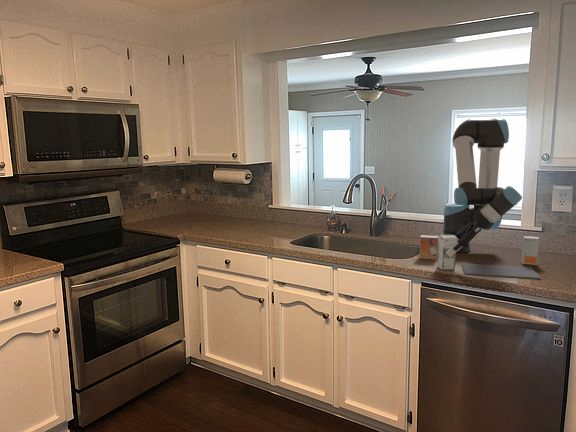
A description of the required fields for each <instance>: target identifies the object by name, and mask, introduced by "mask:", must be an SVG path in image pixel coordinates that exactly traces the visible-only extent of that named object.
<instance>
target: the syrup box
mask: <svg viewBox="0 0 576 432" xmlns="http://www.w3.org/2000/svg"><path fill="white" fill-rule="evenodd" d="M456 241H457V238H456V237H455V236H454V235H443V234H439V235H438V256H437V266H436V267H437V268H438V269H440V270H441V271H455V270H456V255H457V252H456V253H455V254H453V255H452V256H451V257H449V256H448V255H447V254H446V253H445V252H446V251H447V250H448V249H450V248H451V247H452V246H453V245H454V244H455V243H456Z"/></svg>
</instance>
